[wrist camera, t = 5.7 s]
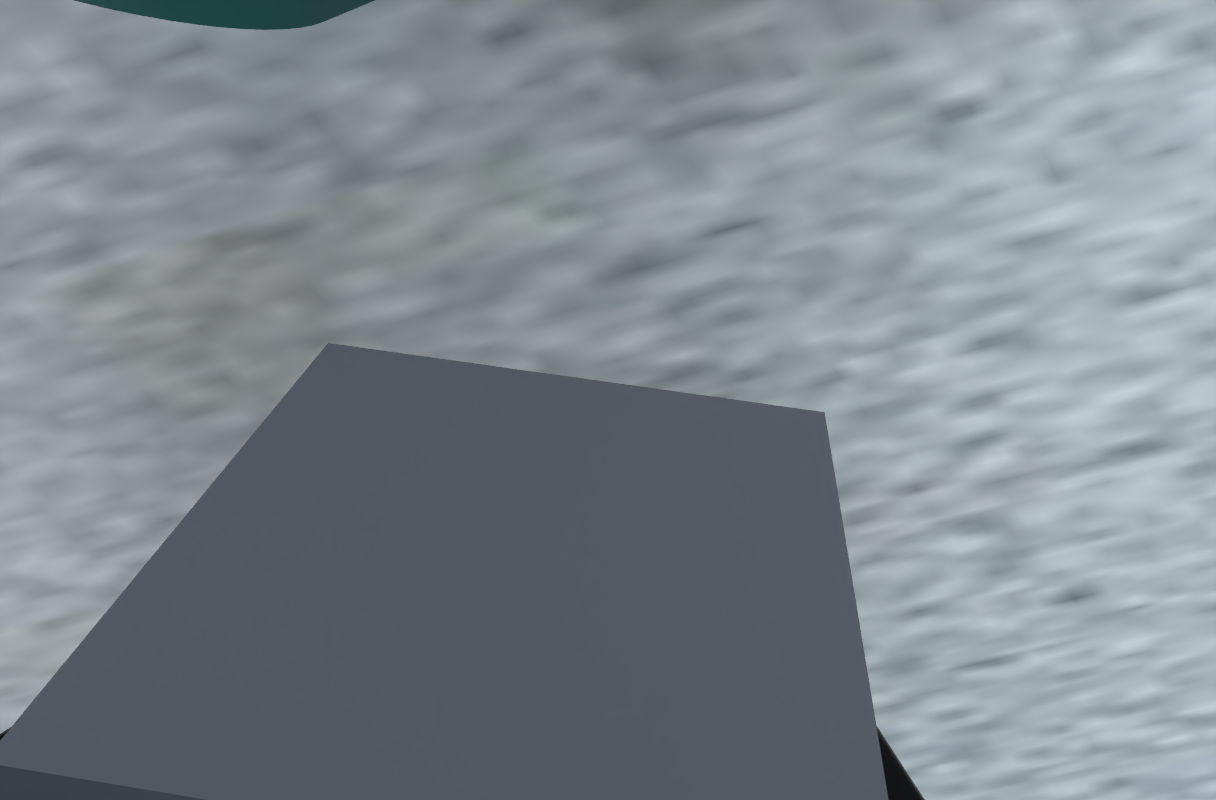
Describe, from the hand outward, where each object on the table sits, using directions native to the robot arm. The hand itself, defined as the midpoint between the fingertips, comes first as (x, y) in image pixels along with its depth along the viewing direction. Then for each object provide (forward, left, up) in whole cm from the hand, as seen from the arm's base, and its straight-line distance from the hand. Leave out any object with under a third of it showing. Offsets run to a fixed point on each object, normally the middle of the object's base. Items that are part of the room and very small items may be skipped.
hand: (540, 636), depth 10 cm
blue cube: (0, 0, -1) cm, 1 cm away
